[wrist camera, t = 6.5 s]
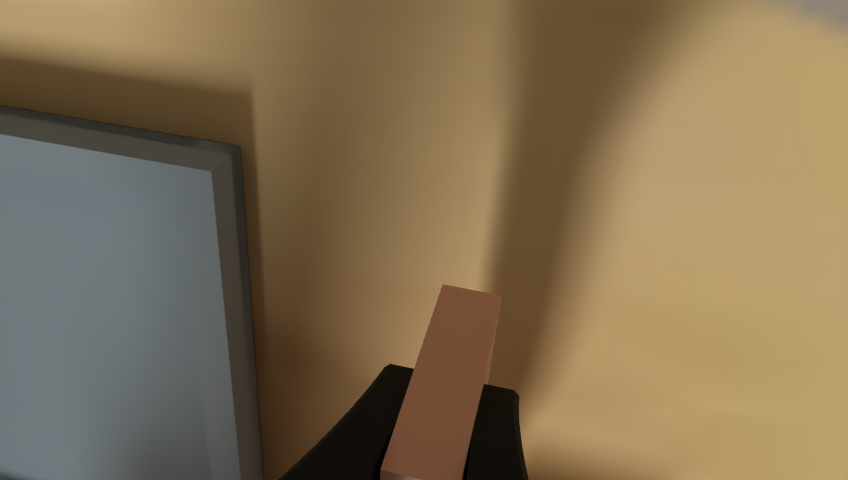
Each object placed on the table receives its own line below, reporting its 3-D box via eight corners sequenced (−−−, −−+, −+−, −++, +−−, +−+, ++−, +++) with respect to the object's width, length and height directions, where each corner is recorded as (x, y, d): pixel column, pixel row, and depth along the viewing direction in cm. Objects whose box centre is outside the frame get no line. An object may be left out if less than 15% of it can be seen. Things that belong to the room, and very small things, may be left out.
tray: (269, 561, 26) (252, 599, 25) (-33, 481, 28) (-63, 512, 27) (240, 146, 17) (211, 172, 16) (-199, 71, 19) (-256, 88, 18)
